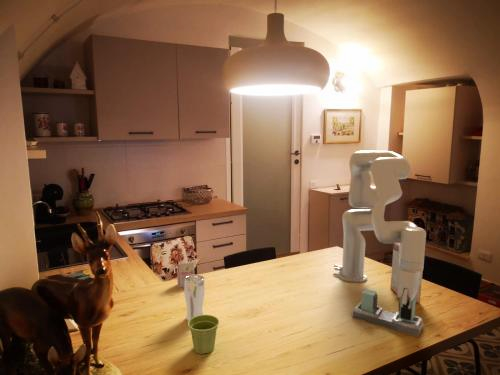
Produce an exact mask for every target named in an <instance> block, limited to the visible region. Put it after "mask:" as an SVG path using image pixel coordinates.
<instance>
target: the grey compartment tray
mask: <svg viewBox="0 0 500 375" xmlns="http://www.w3.org/2000/svg"><path fill="white" fill-rule="evenodd" d="M361 302H362V301H359V302H358V304H357V305H356V306H355V307H354V308H353V310H352V316H351V317H352V318H353V319H356V320H359V321H363V322H367V323H369V324H374V325H376V326H380V327H383V328H385V329H386V328H387V329H390V330H393V331H397V332H399V333H404V334H406V335H410V336H413V337H416V338H417V337H418V338H419V337H420V335H421V333H422V330H423V328H424V320H423V318H422V317H419V316H417V315H414V319H413V320H412V322H410V321H406V320H403V319H399V313H398V311H396V312H391V311H388V310H383V307H382V306H379V305H377V307H376V310H375V312H374V313H371V312H368V311H364V310H361Z"/></svg>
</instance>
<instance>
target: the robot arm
mask: <svg viewBox="0 0 500 375" xmlns="http://www.w3.org/2000/svg"><path fill="white" fill-rule="evenodd" d="M349 158H350V159H349V171H350V183H349V190H348V191H349V192H348V204H349V205H350V206H351V207H352V209H348V210H345V211H344V212H343V214H342V216H341V217H342V219H341V220H342V221H341V222H342V229H343V242H342V243H343V246H342V264H341V265H339V264H334V265H333V269H334V270H335V271H339V272H338V278H339V279H340V280H343V281H345V282H349V283H362V282H365V281H367V280H368V276H367V274H366V273H365V257H366V255H365V253H366V239H365V237H364V235H363V234H362V233H361V231H363V232H365V231H373V232H374V235H375V237H376V239H377V240H378V242H379V243H382V244H394V243H400V254H399V268H400V269H401V271H400V276H399V283H398V292H397V294H396V297H397V299H400V298H401V296H402V304H401V314H400V317H401V318H403V319H406V320H411V310H412V309H411V301H413V299H414V298H415V296H416V294H417V292H418V287H419V274H420V272H422V271H424V265H425V252H426V241H427V239H426V238H427V231H426V230H425V229H424V228H422V227H419V226H418V225H417V224H415V222H413V221H409V220H403V221H402V220H394V221H393V220H391V221H385V217H384V216H385V209H386V206H387V205H389V204H391V203H393V202H395V201H398V200H399V199H400V198H401V197H402V195H403V190H402V187H401V184H400V182H399V180H406V179H407V178H408V177H409V176H410V175H411V164H410V162H409V160H408V159H407V158H405V157H404V156H403V155H400V154H398V153H396V152H394V151H392V150H391V151H390V150H358V151H354V152H353V153H352V154H351V155H350V157H349ZM372 180H373V184H374V185H372ZM353 208H355V209H353ZM356 208H357V209H356ZM422 273H423V272H422ZM407 298H410V299H407ZM407 301H409V304H408V303H407Z"/></svg>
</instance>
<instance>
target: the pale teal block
mask: <svg viewBox="0 0 500 375" xmlns="http://www.w3.org/2000/svg"><path fill="white" fill-rule="evenodd" d="M407 299H410V298H407ZM415 302H416V298H414V299H413V301H411V309H412V310H411V320H406V319H403V318H401V317H400V314H401V304H402V297H401V298H399V300H398V309H397V310H398V311H397V312H398V313H399V319H403V320H406V321H410V322H412V320H413V319H414V316H416V315H415V312H416V303H415ZM407 303H408V304H409V301H407Z"/></svg>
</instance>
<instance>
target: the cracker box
mask: <svg viewBox="0 0 500 375" xmlns="http://www.w3.org/2000/svg"><path fill="white" fill-rule="evenodd" d="M399 254H400V243H393V248H392V262H391V265H392V266H391V273H390V274H391V275H390V287H389V288H390V290H391V291H393V293H395V294H396V295H397V292H398V283H399V276H400V271H401V269H400V268H399ZM423 271H424V270H423ZM423 271H422V272H420V274H419V287H418V292H417V294H416V296H415V298H416V302H415V304H416V303H421V295H422V294H421V293H422V283H423V282H422V281H423ZM401 297H402V296H401Z"/></svg>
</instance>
